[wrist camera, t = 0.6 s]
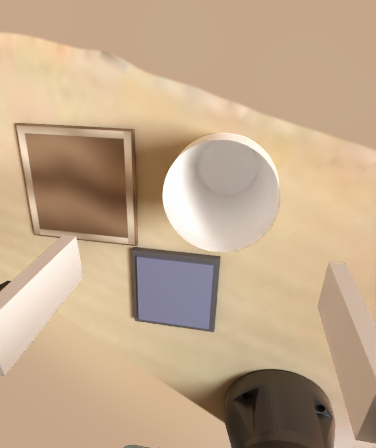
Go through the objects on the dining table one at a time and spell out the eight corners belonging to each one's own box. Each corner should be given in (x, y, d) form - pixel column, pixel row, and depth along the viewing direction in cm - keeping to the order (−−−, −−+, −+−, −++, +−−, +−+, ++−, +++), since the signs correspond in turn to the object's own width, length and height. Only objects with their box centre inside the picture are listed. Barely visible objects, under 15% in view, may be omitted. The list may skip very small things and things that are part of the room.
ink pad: (214, 328, 42) (213, 334, 41) (136, 317, 44) (133, 322, 43) (220, 256, 38) (219, 261, 37) (134, 247, 40) (131, 251, 39)
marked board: (137, 244, 39) (136, 246, 39) (36, 233, 41) (33, 235, 41) (134, 129, 34) (132, 129, 33) (18, 123, 36) (14, 123, 35)
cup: (288, 170, 33) (309, 205, 22) (224, 221, 36) (215, 274, 25) (231, 104, 32) (224, 107, 21) (170, 164, 35) (136, 194, 24)
